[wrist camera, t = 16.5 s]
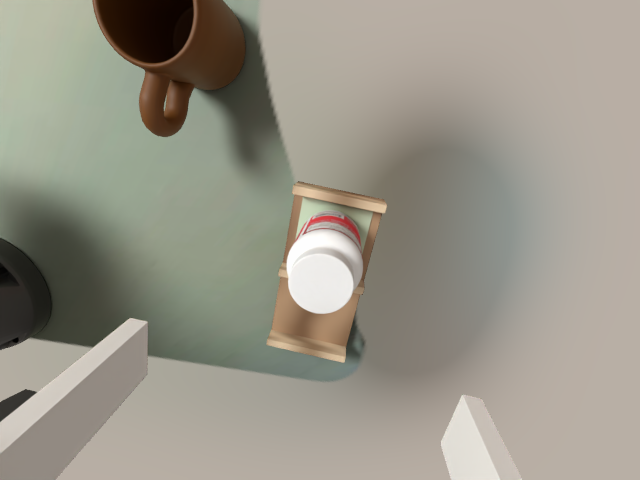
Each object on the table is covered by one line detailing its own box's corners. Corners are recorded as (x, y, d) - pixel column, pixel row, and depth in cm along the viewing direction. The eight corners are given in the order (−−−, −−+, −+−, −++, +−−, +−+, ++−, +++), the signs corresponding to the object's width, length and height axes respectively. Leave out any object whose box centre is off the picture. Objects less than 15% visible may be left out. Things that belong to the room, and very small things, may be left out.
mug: (238, 145, 31) (192, 147, 22) (166, 129, 31) (93, 125, 22) (253, 8, 27) (206, -57, 18) (171, -9, 27) (85, -81, 19)
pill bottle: (325, 275, 33) (313, 337, 23) (289, 232, 32) (259, 276, 22) (372, 243, 32) (383, 293, 21) (335, 196, 30) (328, 225, 20)
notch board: (273, 329, 38) (266, 344, 35) (298, 181, 32) (293, 185, 29) (344, 345, 37) (344, 362, 34) (383, 199, 31) (387, 205, 28)
